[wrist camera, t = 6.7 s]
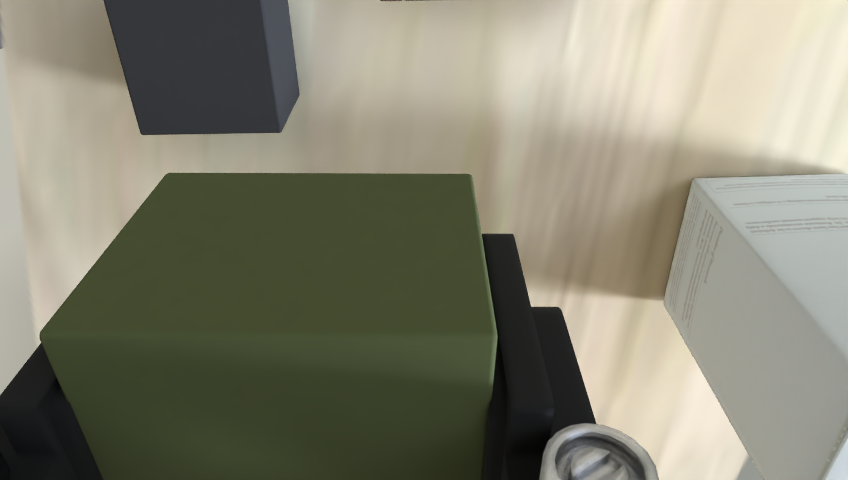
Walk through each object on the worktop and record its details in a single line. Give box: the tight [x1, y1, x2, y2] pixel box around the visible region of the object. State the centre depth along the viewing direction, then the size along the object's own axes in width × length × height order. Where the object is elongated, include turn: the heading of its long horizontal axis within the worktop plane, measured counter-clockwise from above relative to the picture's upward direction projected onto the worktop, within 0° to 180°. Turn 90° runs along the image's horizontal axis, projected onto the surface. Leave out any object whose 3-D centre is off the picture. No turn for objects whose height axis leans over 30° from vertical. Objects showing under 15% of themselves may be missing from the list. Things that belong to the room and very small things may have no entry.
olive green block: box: [40, 173, 498, 480], centre depth 10 cm, size 5×5×4 cm
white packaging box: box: [664, 174, 848, 480], centre depth 24 cm, size 7×7×13 cm
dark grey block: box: [104, 0, 299, 135], centre depth 22 cm, size 5×5×4 cm
